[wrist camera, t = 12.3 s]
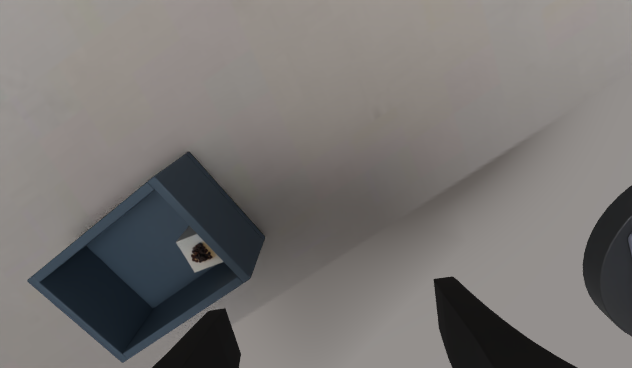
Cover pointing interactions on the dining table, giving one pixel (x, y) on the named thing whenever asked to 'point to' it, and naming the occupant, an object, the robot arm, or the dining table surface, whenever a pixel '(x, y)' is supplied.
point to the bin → (151, 260)
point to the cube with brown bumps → (197, 251)
